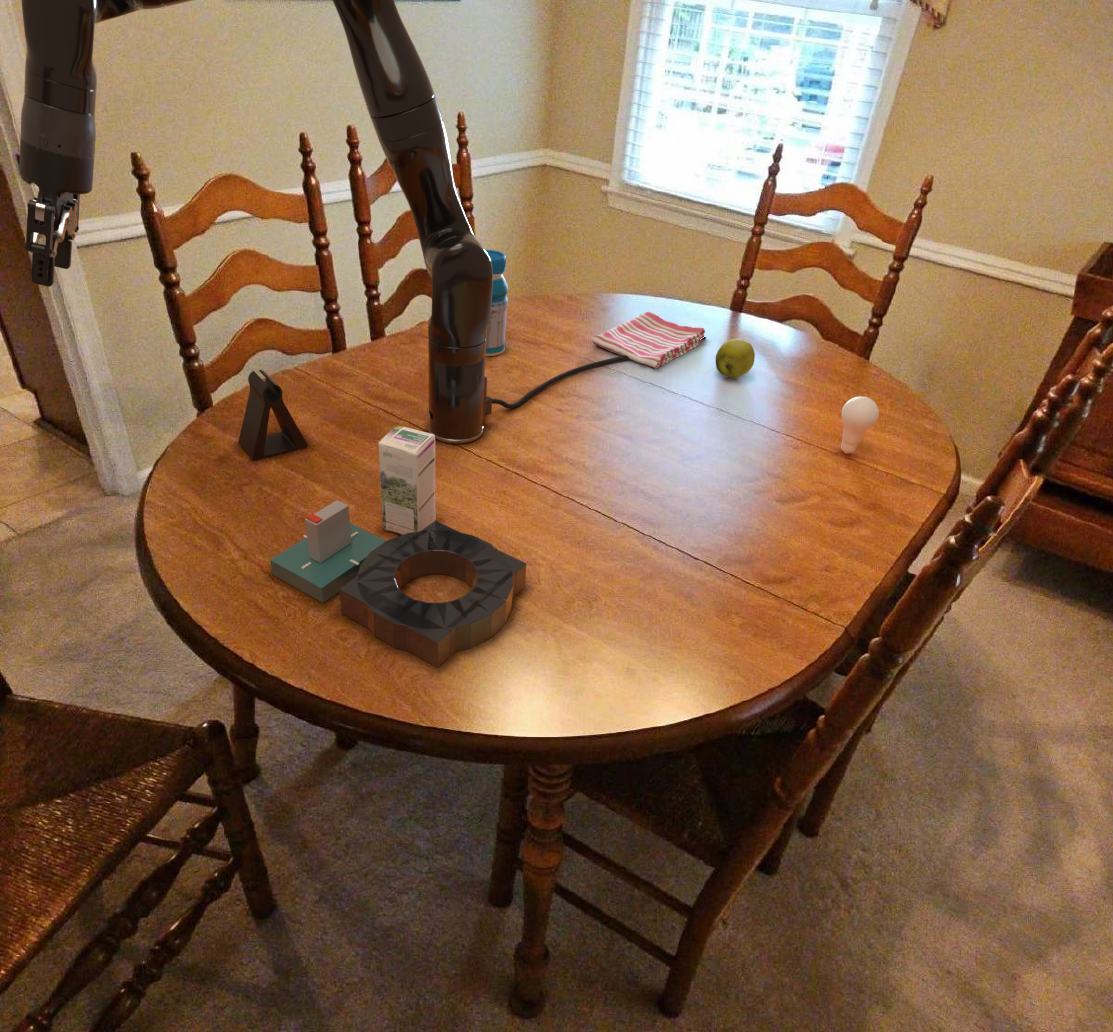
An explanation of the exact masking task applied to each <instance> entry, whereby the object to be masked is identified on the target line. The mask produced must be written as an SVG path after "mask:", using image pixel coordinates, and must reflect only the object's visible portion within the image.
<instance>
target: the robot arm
mask: <svg viewBox="0 0 1113 1032" xmlns="http://www.w3.org/2000/svg"><path fill="white" fill-rule="evenodd" d="M331 1H332V3H333V5H334V7H335V10H336V12H337V15H338V17H339V20H340V21H341V24H342V28H343V31H344V34H345V36H346V40H347V45H348V47H349V52H350V56H351V59H352V63H353V67H354V70H355V73H356V77H357V81H358V83H359V88H360V90H361V94H362V97H363V99H364V103H365V106H366V110H367V112H368V115H369V118H370V120H371V124H372V126H373V128H374V131H375V134H376V136H377V140H378V142H379V144H380V147H381V149H382V151H383V153H384V156H385V158H386V161H387V163H388V165H389V167H390V169H391V172H392V174H393V176H394V178H395V180H396V182H397V183H398V185H399V188H400V189H401V191H402V193H403V195H404V197H405V200H406V202H407V204H408V206H409V209H410V211H411V215H412V218H413V222H414V224H415V229H416V232H417V236H418V240H419V245H420V248H421V252H422V256H423V262H424V265H425V269H426V271H427V273H428V276H429V277H430V279H431V314H430V317H429V319H428V321H427V353H428V355H427V357H428V361H427V362H428V365H427V367H428V368H427V369H428V408H426V414H427V417H428V425H427V431H428V432H427V433H430V434H434V435H435V440H437V441H439V442H443V443H446V444H453V445H455V444H456V445H460V444H468V443H472V442H474V441H477V440H478V439H479V438H480V437H482V435H483V433H484V428H485V427H486V418H487V416H489V415H491V414H492V410H493V409H492V408H493V407H492V406H493V404H494V405H500V406H502V407H504V408H505V409H510V410H511V409H516V408H518V407H520V406H522V405H523V404H525V403H526V401H528V400H529V399H530V398H531V397H532V396H534V395H536V394H537V393H539V392H541V391H543V390H544V389H546V388H547V387H549V386H551V385H553V384H554V383H556V382H558V381H560V380H563V379H565V378H566V377H569V376H572V375H575V374H577V373H580V372H583V371H586V370H590V369H593V368H596V367H600V366H604V365H609V364H613V363H617V362H622V361H627V360H630V359H629V357H628V356H627V355H625V356H621V355H619V356H615V357H610V358H607V359H602V360H598V361H594V362H589V363H587V364H584V365H580V366H578V367H575V368H572V369H569V370H566V371H565V372H563V373H560V374H557V375H556V376H554V377H552V378H550V379H548V380H547V381H545V382H543V383H541V384H539V385H538V386H537V387H535V388H533V389H532V390H530V391H529V392H527V393H526V394H525V395H524V396H522V397H521V398H520V399H519V400H517V401H515V402H512V403H509V402H507V401H506V400H503V399H500V398H492V397H491V396H487V394H488V390H487V389H488V377H487V376H486V356H485V351H486V331H487V327H488V325H489V322H490V315H491V301H492V286H493V269H492V263H491V259H490V257H489V255H488V253H487V252H486V251H485V250H486V249H485V247H483V245H482V244H481V242H479V240H478V239H477V236H476V235H475V234H474V232H473V230H472V227H471V225H470V224H469V221H468V218H467V216H466V213H465V211H464V208H463V206H462V204H461V201H460V198H459V195H458V192H457V189H456V184H455V180H454V174H453V172H454V171H453V165H452V157H451V156H452V155H451V152H450V151H451V150H450V144H449V138H448V135H447V129H446V126H445V121H444V118H443V116H442V113H441V110H440V106H439V103H438V100H437V97H436V95H435V90H434V88H433V85H432V82H431V80H430V77H429V75H428V73H427V71H426V68H425V66H424V64H423V61H422V59H421V57H420V55H419V52H418V51H417V49H416V46H415V45H414V42H413V40H412V38H411V37H410V34H409V32H408V30H407V28H406V26H405V24H404V22H403V20H402V18H401V15H400V13H399V10H398V7H397V5H396V3H395V0H331ZM188 2H194V0H21V13H22V23H23V32H24V38H25V39H24V40H25V43H26V56H25V65H24V68H25V69H24V87H23V89H24V90H23V92H24V94H23V101H22V102H23V103H22V107H21V111H20V112H21V113H20V135H19V137H20V138H19V166H18V167H19V169H18V171H19V174H20V176H21V177H22V178H23V179H24V180H25V181H27V182H29V183H32V184H34V185H35V186H37V188H38V191H37V197H36V196H33V198H32V199H29V200H28V202H27V204H26V206H27V213H26V216H27V217H26V233H25V236H26V237H25V244H24V248H25V251H26V252H29V253H31V254H32V255H31V257H32V258H31V278H30V279H31V282H32V283H33V284H35V285H39V286H44V287H47V288H49V287H52V286H53V285H54V281H55V267H56V268H60V269H63V270H68V269H70V268H71V266H72V253H73V241H75V239H76V234H77V233H78V232H79V230H80V225H79V224H80V223H79V220H80V204H81V203H80V202H81V195H87V194H89V193H91V192H92V190H93V183H94V171H95V170H94V168H95V156H96V155H95V153H96V140H97V138H96V137H97V134H96V133H97V130H96V129H97V128H96V103H97V90H98V75H97V73H98V72H97V69H96V65H95V64H94V61H93V58H94V44H95V43H94V42H95V27H96V24H98V23H103V22H105V21H109V20H112V19H116V18H119V17H122V16H125V15H129V14H131V13H135V12H138V11H141V10H157V9H162V8H167V7H171V6H176V5H180V4H184V3H188ZM42 238H43V239H45V244H43V243H40V239H42ZM706 339H707V336H706V337H704V338H703V339H702V340H701V341H702V342H704V341H705V340H706Z"/></svg>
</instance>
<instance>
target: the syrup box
mask: <svg viewBox="0 0 1113 1032" xmlns="http://www.w3.org/2000/svg"><path fill="white" fill-rule="evenodd" d="M377 444H378V461H379V463H378V464H379V477H380V481H379V482H380V497H381V498H380V499H381V511H382V512H381V513H382V515H381V516H382V530H383V531H385V532H386V531H387V532H389V533H394V534H397V535H399V536H401V535H404V534H407V533H412V532H418V531H421V530H423V529H424V528H425V527H427V526H428V525H430V524H431V523H433V522H434V521H436V516H437V515H436V513H437V511H436V439H435V435H434V434H430V433H429V432H426V431H422V430H419V429H414V428H411V427H407V426H402V425H399V424H398V425H396V426H395V427H394V428H392V429H391V430H390V431H388V433H386V434H385V435H384V436H383V437H382V438H381V439H380V440H379V441H378V443H377Z"/></svg>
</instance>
